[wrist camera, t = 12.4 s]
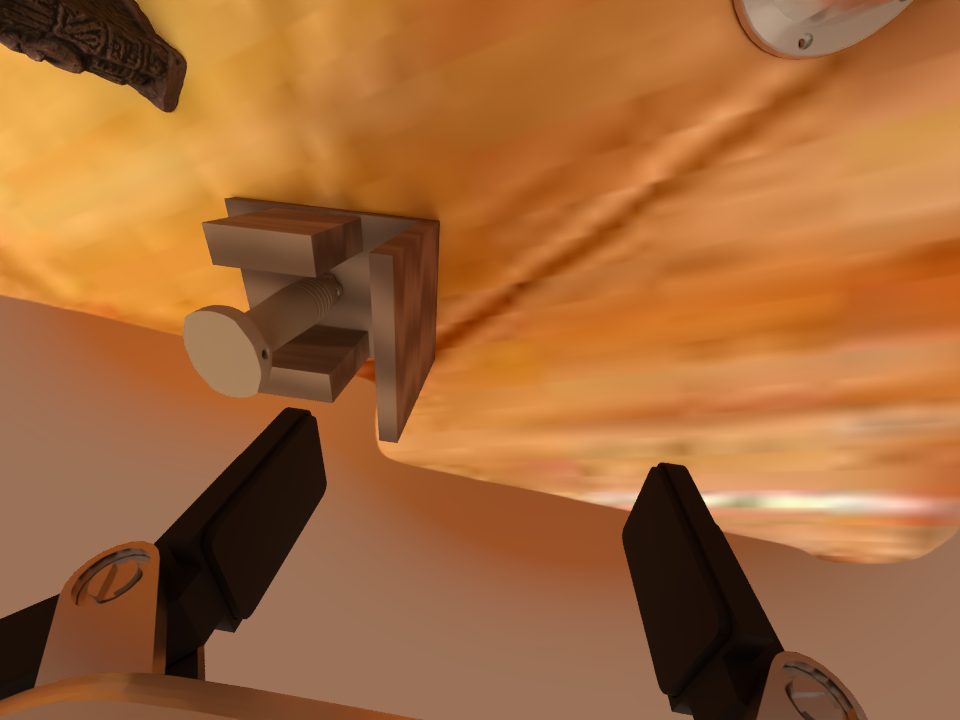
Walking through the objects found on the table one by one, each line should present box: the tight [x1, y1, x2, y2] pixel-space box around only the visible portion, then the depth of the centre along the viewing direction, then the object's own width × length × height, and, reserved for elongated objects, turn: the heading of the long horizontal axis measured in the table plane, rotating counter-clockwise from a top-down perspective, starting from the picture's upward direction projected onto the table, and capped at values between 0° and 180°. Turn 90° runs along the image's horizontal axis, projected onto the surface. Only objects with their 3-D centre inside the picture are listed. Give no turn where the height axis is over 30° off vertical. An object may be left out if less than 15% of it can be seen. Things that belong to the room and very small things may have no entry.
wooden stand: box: [202, 197, 440, 443], centre depth 32 cm, size 15×20×14 cm
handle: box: [183, 274, 342, 397], centre depth 30 cm, size 5×6×15 cm
